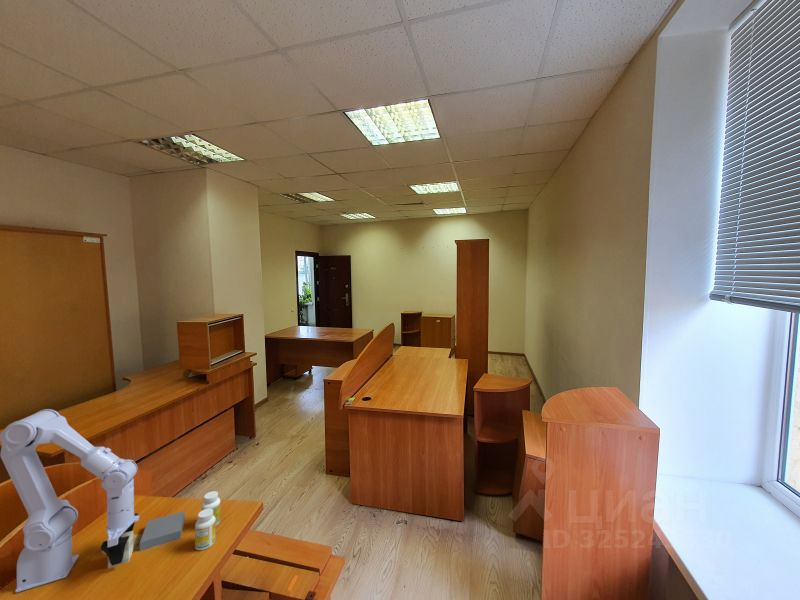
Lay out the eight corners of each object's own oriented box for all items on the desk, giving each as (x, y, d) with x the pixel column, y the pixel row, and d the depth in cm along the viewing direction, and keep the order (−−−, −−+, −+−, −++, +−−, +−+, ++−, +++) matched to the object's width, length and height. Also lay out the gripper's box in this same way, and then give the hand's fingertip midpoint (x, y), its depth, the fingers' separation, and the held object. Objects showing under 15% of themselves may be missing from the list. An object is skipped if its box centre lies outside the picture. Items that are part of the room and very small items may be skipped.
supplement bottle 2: (201, 553, 91) (201, 521, 91) (191, 546, 93) (191, 515, 93) (219, 540, 96) (219, 510, 96) (209, 534, 98) (209, 504, 98)
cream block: (107, 568, 86) (107, 547, 86) (113, 556, 90) (113, 536, 90) (128, 561, 88) (128, 541, 88) (133, 550, 92) (133, 530, 92)
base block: (139, 552, 92) (139, 542, 92) (147, 530, 100) (147, 520, 100) (180, 540, 96) (180, 530, 96) (184, 519, 105) (184, 510, 105)
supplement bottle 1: (211, 530, 100) (211, 501, 100) (197, 528, 101) (197, 498, 101) (224, 519, 105) (224, 490, 105) (210, 516, 106) (210, 488, 106)
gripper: (131, 517, 84) (131, 566, 84) (144, 488, 97) (145, 531, 97) (96, 527, 81) (97, 578, 81) (115, 495, 94) (115, 539, 94)
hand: (121, 553), depth 89 cm, fingers open, 7 cm apart
